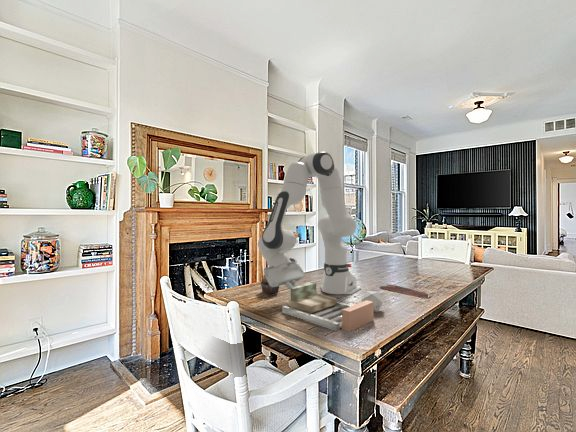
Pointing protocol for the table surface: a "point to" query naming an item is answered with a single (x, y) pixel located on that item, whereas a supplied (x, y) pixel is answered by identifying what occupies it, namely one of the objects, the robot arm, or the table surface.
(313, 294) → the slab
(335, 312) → the roller track
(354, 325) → the block
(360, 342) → the table surface
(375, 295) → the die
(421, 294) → the wooden tablet
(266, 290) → the cupcake
